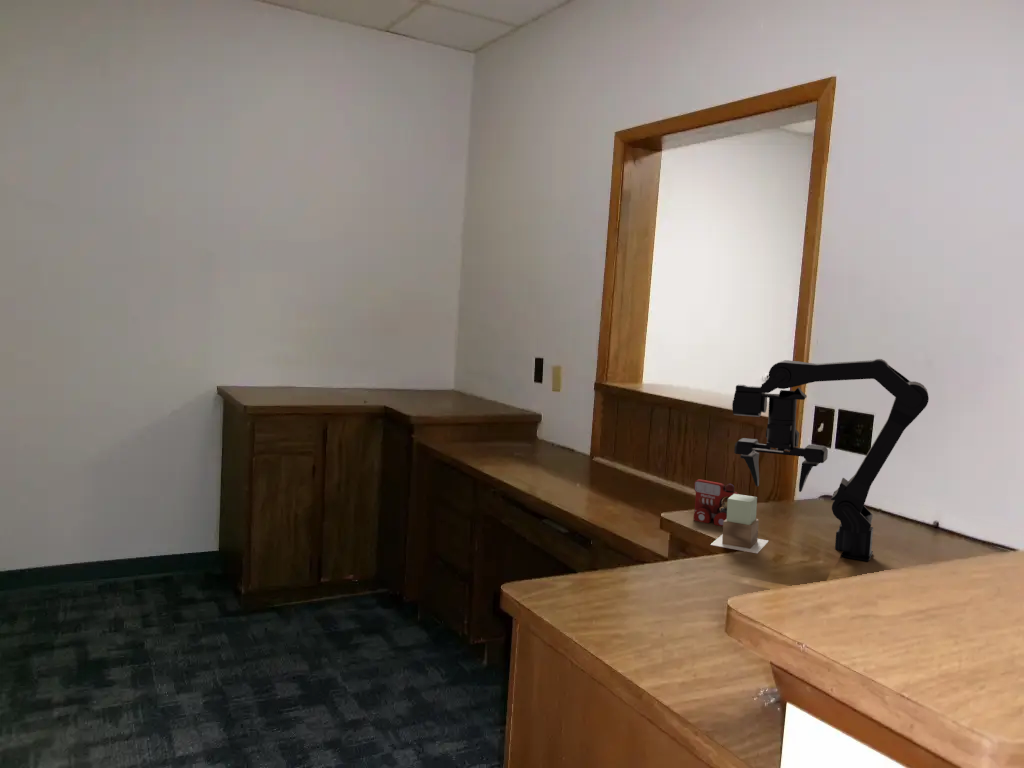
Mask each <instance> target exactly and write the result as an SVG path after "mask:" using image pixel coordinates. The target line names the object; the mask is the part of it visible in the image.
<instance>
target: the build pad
mask: <svg viewBox="0 0 1024 768" xmlns="http://www.w3.org/2000/svg"><path fill="white" fill-rule="evenodd" d="M722 539H723V533H722V534H720V536H718V537H717V538H716V539H715V540H714V541H713V542H711V544H710V546H714V547H720V548H726V549H731V550H737V551H741V552H748V553H753V554H759V553H760V551H761V550H762V549H763V548H764V547H765V546H766V545H767V544H768V542H769V540H768V539H767V540H766V539H762V538H758V540H757V542H756V543H755V544H754V545H753V547H752V548H751V549H748V548H743V547H737V546H732V545H726V544H722Z"/></svg>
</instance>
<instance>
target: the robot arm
mask: <svg viewBox="0 0 1024 768" xmlns="http://www.w3.org/2000/svg"><path fill="white" fill-rule="evenodd" d="M854 380H874V381H877V383H879V385H881V386H882V387H883V388H884V389H885V390H886V391H887V392H888V393H890V394H891V395H892V396H894V400H893V402H892V406H891V409H890V412H889V415H888V418H887V420H886V421H885V423H884V425H883V427H882V428H881V430H880V432H879V433H878V435H877V436H876V438H875V440H874V442H873V443H872V444H871V447H870V448H869V450H868V452H867V453H866V455H865V457H864V458H863V460H862V462H861V463H860V465H859V467H858V468H857V471H856V472H855V473H854V475H853V476H852V477H851V478H850V479H849V480H847V479H846V478H845V477H842V478H841V480H840V483H839V487H838V488H836V490H834V491H833V493H832V496H831V501H833V502H832V505H831V510H832V513H833V515H834V517H835V518H837V520H838V521H840V525H838V526H839V527H838V529H837V531H836V532H835V542H834V543H835V544H834V545H835V547H834V550H837V551H841V552H842V553H841V555H840V557H841V558H847V559H852V560H858V561H865V562H869V561H870V560H871V559H872V556H873V554H874V552H873V551H872V549H873V537H874V534H873V533H874V527H873V526H872V522H873V516H874V515H873V513H872V512H871V511H870V510H869V509H868V508H867V507H866V506H865V503H866V500H867V497H868V494H869V491H870V489H871V486H872V484H873V482H874V481H875V479H876V478H877V476H878V474H879V473H880V471H881V469H882V468H883V466H884V464H885V462H886V461H887V459H888V458H889V456H890V455H891V453H892V452H893V449H894V447H896V444H897V443H898V441H899V440H900V438H901V436H902V434H903V433H904V432H905V430H906V428H908V427H909V425H911V423H913V421H915V420H916V419H917V418H918V417H919V415H920V414H921V413H922V412H923V411H924V410H925V409H926V407H927V406H928V403H929V393H928V389H927V388H926V387H925V385H924V384H922V383H921V382H918V381H911V380H909V379H908V378H907V377H906V376H905V375H903V374H901V373H900V372H898V370H896V369H895V368H893V367H892V366H890V364H889V363H888V362H887V361H886V360H884V359H883V358H876V359H872V360H857V361H855V360H854V361H839V362H824V363H823V362H822V363H812V362H805V361H798V360H796V361H795V360H787V359H785V360H781V361H778V362H777V363H775V364H773V365H772V366H771V367H770V369H769V371H768V378H767V379H766V380H765V382H763V383H761V386H754V385H752V386H751V385H745V384H737V385H736V386H735V392H734V395H733V400H732V403H731V405H732V406H731V407H732V414H733V415H734V416H743V417H758V418H760V417H761V415H762V413H767V406H768V415H767V416H768V417H767V419H768V420H767V427H766V429H765V430H766V431H765V438H766V444H765V443H760V442H759V440H758V439H757V438H749V437H747V438H746V437H742V438H740V439H739V440H737V441H736V442H735V443H734V451H733V453H734V454H736V455H740V459H743V460H744V461H745V463H746V465H747V467H748V469H749V471H750V474H751V476H752V479H753V481H754V485H755V487H759V485H760V467H759V463H760V462H759V461H760V460H759V459H760V453H765V454H775V455H784V456H793V457H802V458H804V461H802V463H801V469H800V476H799V483H798V492H799V493H802V492H803V489H804V486H805V484H806V481H807V479H808V476H809V475H810V473H811V470H812V469H813V467H817V466H819V464H824V463H825V462H826V461H827V460H828V456H829V455H828V448H827V446H826V445H816V444H808V445H807V446H805V447H799V441H800V439H799V438H800V432H799V431H798V430H797V424H796V423H797V401H798V400H799V401H800V400H801V401H805V399H807V397H808V396H807V394H805V393H804V392H803V391H802V389H801V388H800V387H799V386H803V385H807V384H811V383H815V382H816V383H817V382H818V383H819V382H834V381H835V382H836V381H854ZM795 387H797V388H796V389H795V390H786V389H790V388H795ZM777 389H779V393H771V392H773V391H775V390H777Z"/></svg>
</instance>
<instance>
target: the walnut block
mask: <svg viewBox="0 0 1024 768" xmlns="http://www.w3.org/2000/svg"><path fill="white" fill-rule="evenodd" d="M759 522H760V521H759V519H758V518H756V520H755V521H754V522H753V523H752V524H750V525H746V524H740V523H734V522H728V521H727V519H726V520H724V521H723V526H722V534H723V539H722V544H726V545H732V546H737V547H743V548H748V549H751V548H752V547H753V545H754V544H755V543H756V542H757V540H758V539H759Z"/></svg>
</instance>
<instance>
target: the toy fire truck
mask: <svg viewBox="0 0 1024 768" xmlns="http://www.w3.org/2000/svg"><path fill="white" fill-rule="evenodd" d="M693 484H694V486H693V490H694V491H695V497H694V498H695V500H694V501H695V502H694V511H693V512H694V513H693V520H694V522H699V523H700V522H701V523H704V524H710V523H711V522H712V520H713V524H714V525H715V526H719V527H723V521H724V520H726V519H727V501H728V498H729V497H730V496H732V495H733V494H739V493H738V492H737V491H735V486H734V485H733V484H732V483H728V484H726V485H725V484H724V483H721V482H717V481H716V482H715V481H712V480H711V481H710V480H705V479H699V478H698V479H697V480H695V481H694V483H693ZM721 507H722V508H721Z"/></svg>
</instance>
